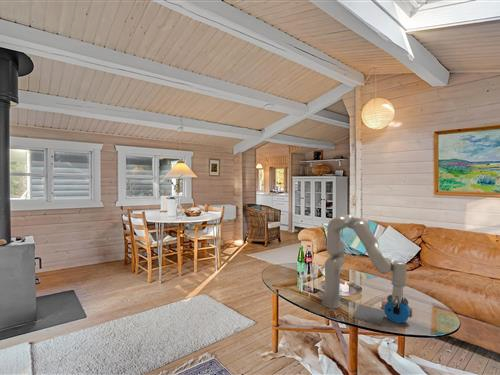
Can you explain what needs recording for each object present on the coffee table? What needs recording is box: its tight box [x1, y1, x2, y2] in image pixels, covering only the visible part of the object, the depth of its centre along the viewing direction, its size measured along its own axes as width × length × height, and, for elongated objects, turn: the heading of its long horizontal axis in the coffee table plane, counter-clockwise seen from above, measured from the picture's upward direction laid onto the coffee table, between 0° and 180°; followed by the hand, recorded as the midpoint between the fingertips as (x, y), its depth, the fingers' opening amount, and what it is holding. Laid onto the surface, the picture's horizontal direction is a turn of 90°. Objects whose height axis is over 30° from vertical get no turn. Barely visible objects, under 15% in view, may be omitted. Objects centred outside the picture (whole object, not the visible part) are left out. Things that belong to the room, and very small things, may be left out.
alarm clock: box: [383, 294, 411, 324], centre depth 176 cm, size 13×6×15 cm, turn 55°
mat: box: [352, 304, 386, 326], centre depth 184 cm, size 16×20×1 cm
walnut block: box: [408, 307, 413, 318], centre depth 185 cm, size 4×4×4 cm
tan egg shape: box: [381, 298, 388, 310], centre depth 193 cm, size 5×5×5 cm
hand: (397, 310), depth 176 cm, fingers open, 9 cm apart
